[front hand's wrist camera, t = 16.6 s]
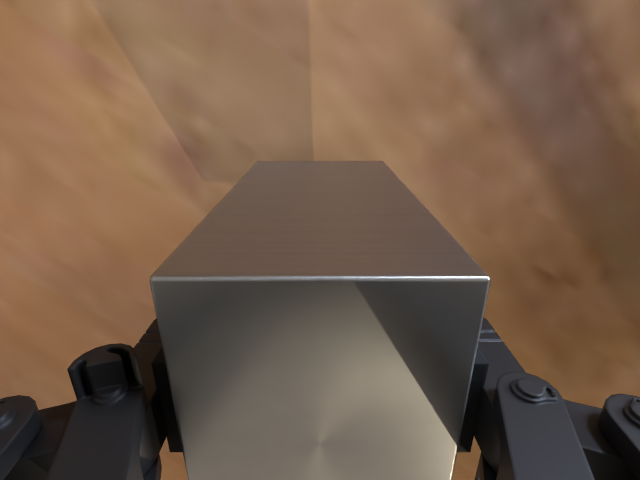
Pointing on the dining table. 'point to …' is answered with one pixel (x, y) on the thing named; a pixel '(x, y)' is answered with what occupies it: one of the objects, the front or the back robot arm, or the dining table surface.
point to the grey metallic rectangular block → (320, 329)
